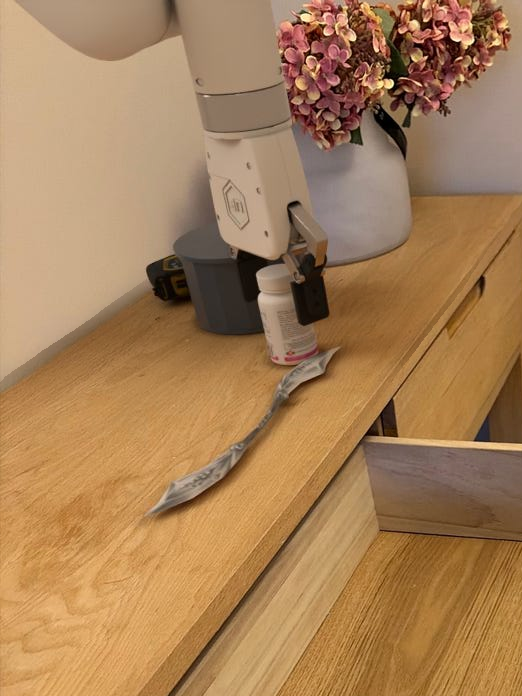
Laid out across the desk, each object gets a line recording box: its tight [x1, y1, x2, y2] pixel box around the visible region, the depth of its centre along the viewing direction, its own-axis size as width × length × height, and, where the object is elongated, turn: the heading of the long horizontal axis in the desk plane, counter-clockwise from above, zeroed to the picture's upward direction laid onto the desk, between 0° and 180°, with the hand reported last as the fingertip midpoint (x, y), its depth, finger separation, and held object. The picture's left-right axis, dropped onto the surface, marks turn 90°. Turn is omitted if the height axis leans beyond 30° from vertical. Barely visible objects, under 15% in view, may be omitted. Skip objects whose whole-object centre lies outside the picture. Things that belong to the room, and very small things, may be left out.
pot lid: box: [172, 221, 293, 264], centre depth 102 cm, size 14×14×5 cm
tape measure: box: [145, 253, 191, 302], centre depth 113 cm, size 7×7×4 cm
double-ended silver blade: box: [143, 345, 342, 517], centre depth 86 cm, size 32×1×5 cm
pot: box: [181, 253, 305, 336], centre depth 105 cm, size 13×13×8 cm
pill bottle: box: [256, 264, 319, 366], centre depth 94 cm, size 5×5×8 cm
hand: (285, 308), depth 94 cm, fingers open, 9 cm apart
